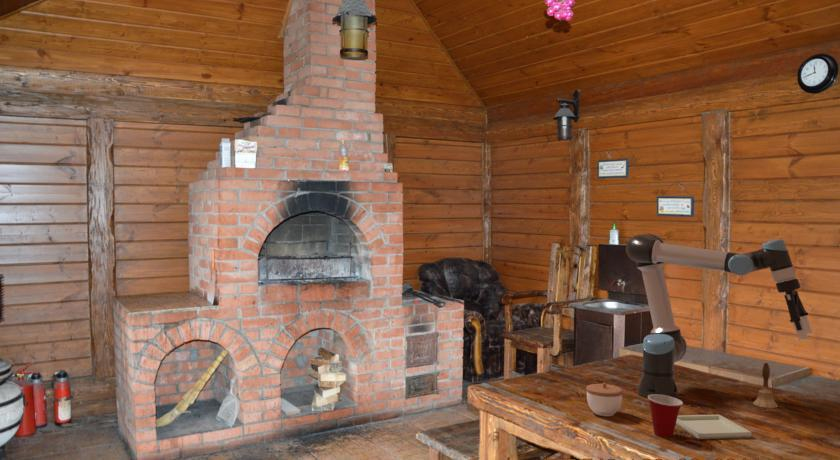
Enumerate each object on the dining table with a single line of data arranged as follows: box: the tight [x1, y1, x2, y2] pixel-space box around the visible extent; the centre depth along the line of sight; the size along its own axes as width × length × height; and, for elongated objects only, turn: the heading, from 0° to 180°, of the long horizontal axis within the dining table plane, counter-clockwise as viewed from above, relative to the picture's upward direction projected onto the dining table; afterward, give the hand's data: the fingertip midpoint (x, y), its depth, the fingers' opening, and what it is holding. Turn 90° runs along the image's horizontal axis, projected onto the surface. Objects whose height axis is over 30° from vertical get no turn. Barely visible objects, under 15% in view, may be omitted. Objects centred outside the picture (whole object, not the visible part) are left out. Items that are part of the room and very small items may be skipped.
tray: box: [676, 414, 752, 440], centre depth 213 cm, size 18×18×2 cm
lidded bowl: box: [585, 382, 624, 417], centre depth 229 cm, size 13×13×11 cm
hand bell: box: [752, 362, 779, 409], centre depth 241 cm, size 8×8×16 cm
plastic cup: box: [647, 394, 684, 438], centre depth 207 cm, size 11×11×12 cm
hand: (805, 336), depth 233 cm, fingers open, 13 cm apart
